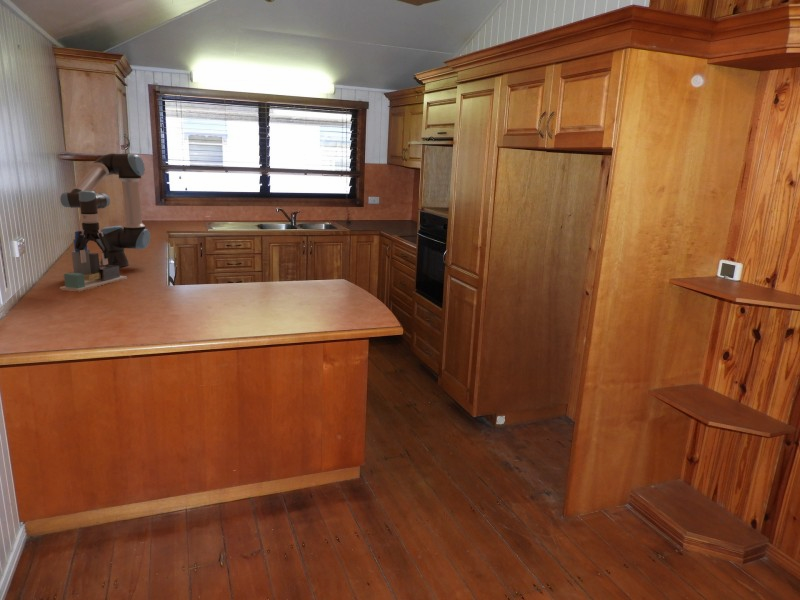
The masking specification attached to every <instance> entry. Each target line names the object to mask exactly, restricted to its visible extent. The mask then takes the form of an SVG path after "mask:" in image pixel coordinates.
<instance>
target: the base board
mask: <svg viewBox="0 0 800 600" xmlns="http://www.w3.org/2000/svg"><path fill="white" fill-rule="evenodd" d="M124 279H125V280H127V279H128V276H126V275H120V277H117V278H113V279H110V280H106V281H100V280H91V281H85V280H84V281H85V287H82V288H70V287H65V285H63V286H60V287H59V290H60V289H62V290H61V291H68V290H69V292H70V291H71V292H76V291H79V292H78V293H80V291H81V292H84V291H83V290H85V291H87V290H86V289H88V290H90V289H89V288H92V289H94V288H93V287H96V288H98V287H97V286H99V287H102V286H101V285H103V286H105V285H104V284H107V283H110V284H113V283H112V282H114V283H116V282H115V281H117V282H120V281H119V280H121V281H124ZM107 285H108V284H107Z"/></svg>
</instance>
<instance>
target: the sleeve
mask: <svg viewBox="0 0 800 600" xmlns="http://www.w3.org/2000/svg"><path fill="white" fill-rule="evenodd" d="M100 271H102V278H99V279H95V280H100V281H106V280H110V279H113V278H117V277H120V276H121V274H120V273H121V272H120V267H119V266H116V265H107V266H103V267H101V266H100Z"/></svg>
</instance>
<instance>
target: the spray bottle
mask: <svg viewBox="0 0 800 600" xmlns="http://www.w3.org/2000/svg"><path fill="white" fill-rule="evenodd" d="M79 231H80V230H77V231H75V232H74V239H73V248H74V250H72V251H71V258H72V266H73V273H80V274H84V275H85V274H89V273H91V268H90V259H89V254H90V253H92V252H91V250H90V249H88V243H87V244H86V246H85V248H84V249H83V250H85V253H86V262H85V263H81V257H80V255H79V250H78V249H76V248H75V245H76V242H77V239H78V236H79Z"/></svg>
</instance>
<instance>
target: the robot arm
mask: <svg viewBox="0 0 800 600" xmlns="http://www.w3.org/2000/svg"><path fill="white" fill-rule="evenodd" d="M90 165H91V166H90V169H89V171H87V173H86V174H85V175H84V176H83V177H82V179H81V180H80V181H78V183H77V184H76V185H75V186H74V187H73V189H72V190H71V191H70V192H68V191H67V192H62V193H61V194H60V203H61V206H62V207H64V208H71V209H72V208H77V209H80V218H81V227H82V230H78V231H79V236H78V239H77V242H76V245H75V248H76V249H78V250H79V255H80V257H81V263H85V262H86V253H85V250H83V249H84V248H85V246H86V244H87V245H88V243H89V242H90V241H92V242H95V244H96V245H97V246H98V247H99V249H100V250H101V259H100V260H99V265H100V267H101V266H102V267H103V266H107V265H116V266H119V268H122V266H124V267H127V265H128V266H129V264H130V262H129V259H128V257H127V255H126V253H125V249H131V250H133V249H135V250H145V249H146V248H148V246H149V245H150V241H151V233H150V230H149V229H147V228H146V225H145V224H144V223H143V218H142V207H141V206H142V205H141V195H140V183H139V181H140V180H141V179H142V176H143V175H144V174H145V170H146V169H145V168H146V167H145V164H144V161H143V160H142V158H141V157H140V155H138V154H135V153H132V154H131V153H108V154H104V155H102V156H100V157H99V158H98V159H96V160H95V161H94V162H93V163H92V164H90ZM112 175H114V176H115V175H118V179H119V180H120V181H121V182H122V184H121V185H122V195H123V206H124V207H123V208H124V217H125V224H124V225H123V226H122V225H113V226H105V227H103V228H101V229H100V223H99V220H100V219H99V213H98V210H99V209H105V208H107V207H108V206H109V205H110V204H111V199H110V197H109V195H108V194H106V193H103V192H98V193H96V192H95V189H96V188H97V187H98V185H99V184H100V183H101V182H102V181H103V179H106V178H108V177H109V176H112ZM99 230H100V231H99Z"/></svg>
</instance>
